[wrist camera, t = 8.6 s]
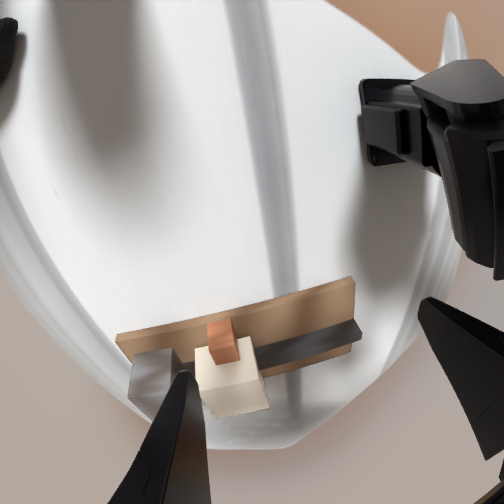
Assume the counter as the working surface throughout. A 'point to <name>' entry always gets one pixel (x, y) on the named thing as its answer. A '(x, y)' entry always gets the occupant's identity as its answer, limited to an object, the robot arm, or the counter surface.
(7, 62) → the tape measure
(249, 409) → the sleeve
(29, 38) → the counter surface
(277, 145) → the counter surface
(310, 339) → the board
